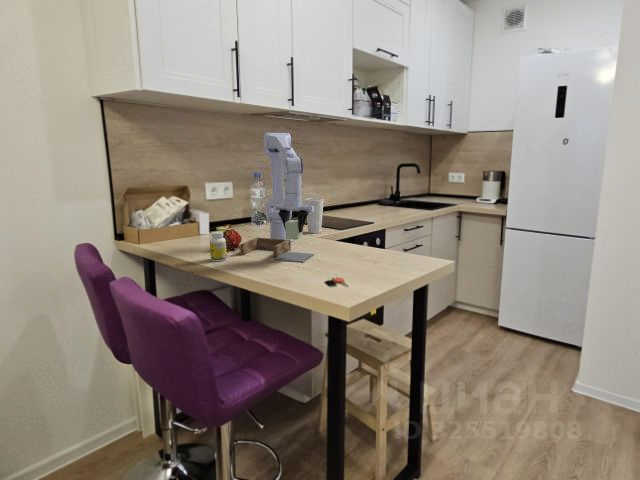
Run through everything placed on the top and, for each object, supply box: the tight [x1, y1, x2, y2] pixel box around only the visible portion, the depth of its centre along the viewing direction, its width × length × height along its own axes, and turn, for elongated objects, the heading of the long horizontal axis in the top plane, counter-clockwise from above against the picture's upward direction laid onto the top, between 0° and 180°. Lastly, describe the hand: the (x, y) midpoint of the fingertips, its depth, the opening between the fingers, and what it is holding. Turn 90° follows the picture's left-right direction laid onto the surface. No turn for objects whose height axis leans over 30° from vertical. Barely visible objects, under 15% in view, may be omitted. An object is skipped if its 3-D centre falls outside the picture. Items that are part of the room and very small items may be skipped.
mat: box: [273, 251, 315, 263], centre depth 147 cm, size 11×11×1 cm
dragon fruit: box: [222, 228, 243, 251], centre depth 160 cm, size 8×8×12 cm
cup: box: [304, 197, 324, 234], centre depth 191 cm, size 8×8×16 cm
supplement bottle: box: [209, 230, 228, 263], centre depth 144 cm, size 5×5×10 cm
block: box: [285, 219, 303, 241], centre depth 145 cm, size 4×4×6 cm
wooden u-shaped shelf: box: [239, 237, 292, 259], centre depth 155 cm, size 13×14×4 cm
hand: (293, 231), depth 145 cm, fingers closed on block, 4 cm apart
